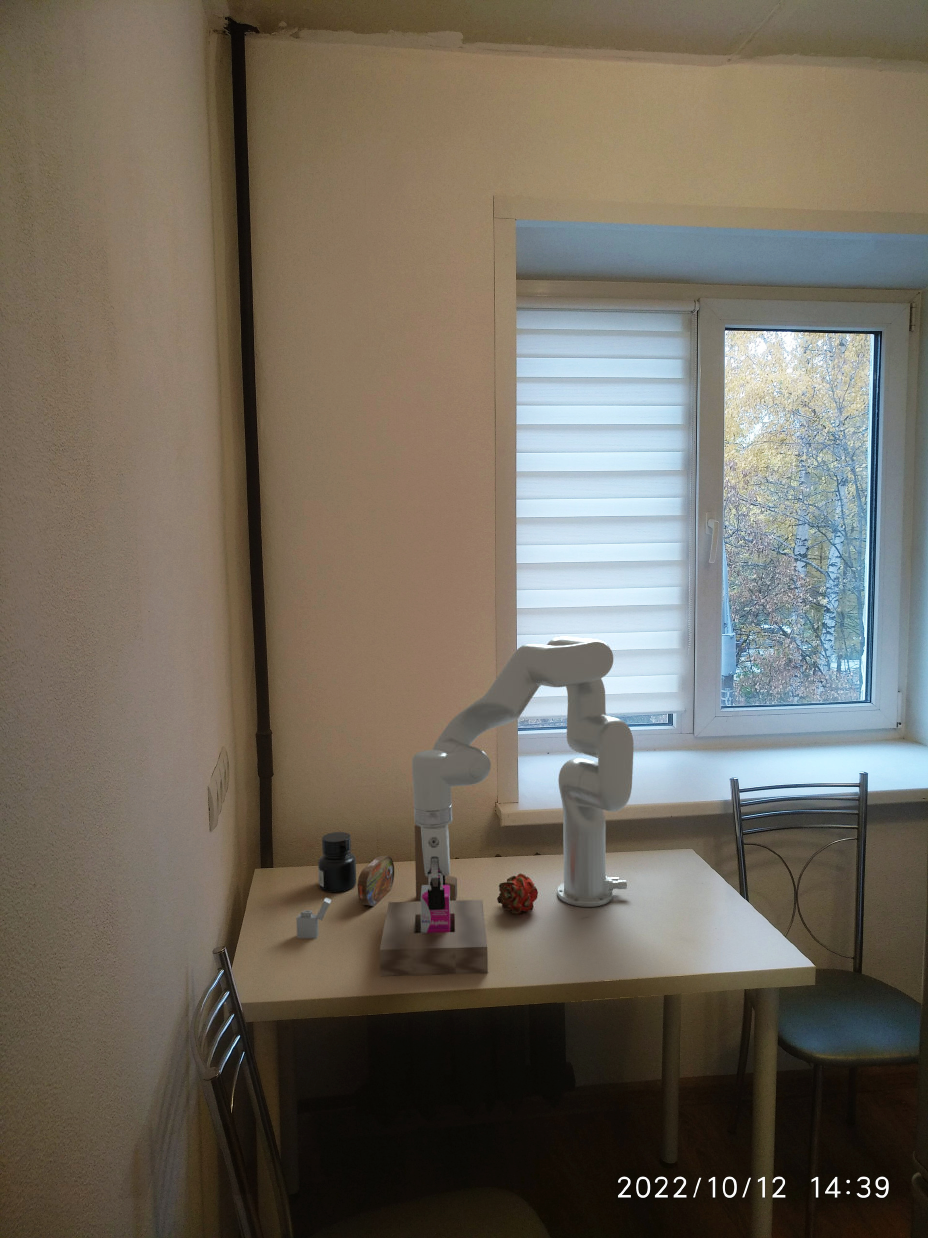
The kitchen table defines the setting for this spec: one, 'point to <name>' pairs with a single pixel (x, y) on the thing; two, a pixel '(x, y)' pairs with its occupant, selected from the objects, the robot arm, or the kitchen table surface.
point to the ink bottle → (337, 863)
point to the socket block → (434, 941)
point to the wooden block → (420, 872)
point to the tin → (375, 880)
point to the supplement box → (435, 913)
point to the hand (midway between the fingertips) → (437, 897)
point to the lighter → (310, 921)
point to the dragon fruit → (517, 894)
